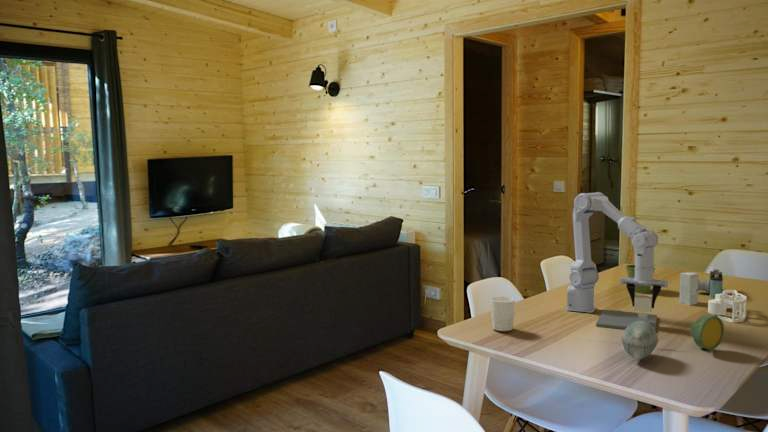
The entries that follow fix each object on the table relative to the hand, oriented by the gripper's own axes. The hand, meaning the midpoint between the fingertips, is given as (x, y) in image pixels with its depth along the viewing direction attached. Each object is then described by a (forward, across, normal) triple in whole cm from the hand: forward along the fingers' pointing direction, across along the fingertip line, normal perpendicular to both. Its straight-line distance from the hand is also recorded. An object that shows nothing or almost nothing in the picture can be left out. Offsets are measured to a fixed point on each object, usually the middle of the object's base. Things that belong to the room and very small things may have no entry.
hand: (643, 306), depth 194 cm
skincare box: (+7, +14, +38) cm, 41 cm away
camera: (+7, +21, +58) cm, 62 cm away
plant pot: (+7, -4, +51) cm, 52 cm away
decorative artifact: (+7, +17, -16) cm, 24 cm away
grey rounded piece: (+7, +1, -30) cm, 31 cm away
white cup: (+7, -42, -22) cm, 48 cm away
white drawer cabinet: (+1, 0, 0) cm, 1 cm away
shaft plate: (+7, -5, +3) cm, 9 cm away
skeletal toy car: (+7, +27, +27) cm, 39 cm away
